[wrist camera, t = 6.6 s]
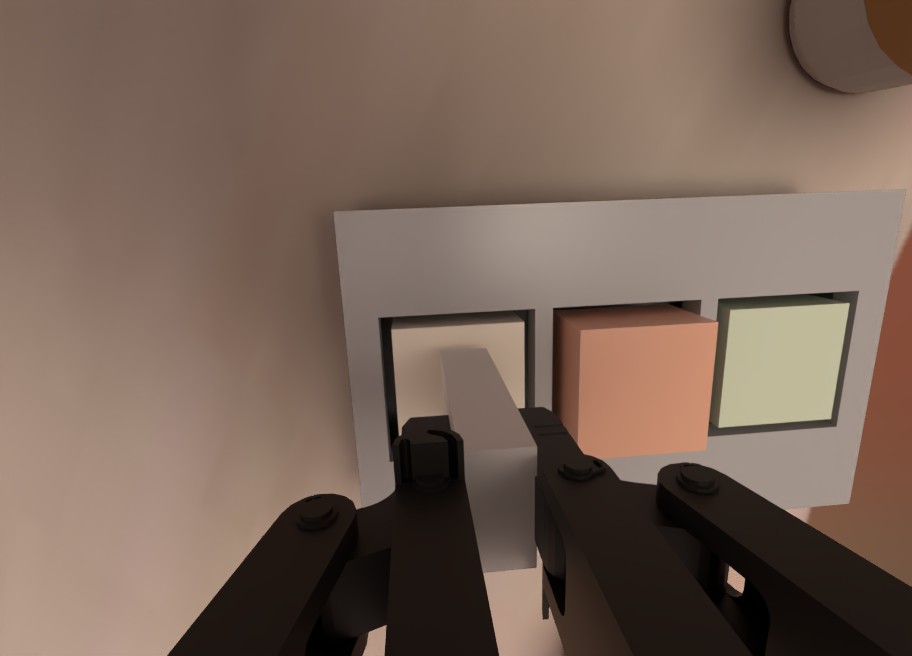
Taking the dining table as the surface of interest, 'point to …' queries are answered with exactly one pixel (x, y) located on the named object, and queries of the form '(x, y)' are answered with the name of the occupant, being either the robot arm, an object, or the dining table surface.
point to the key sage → (776, 359)
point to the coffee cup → (853, 42)
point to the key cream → (434, 333)
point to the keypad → (627, 284)
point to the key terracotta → (633, 379)
